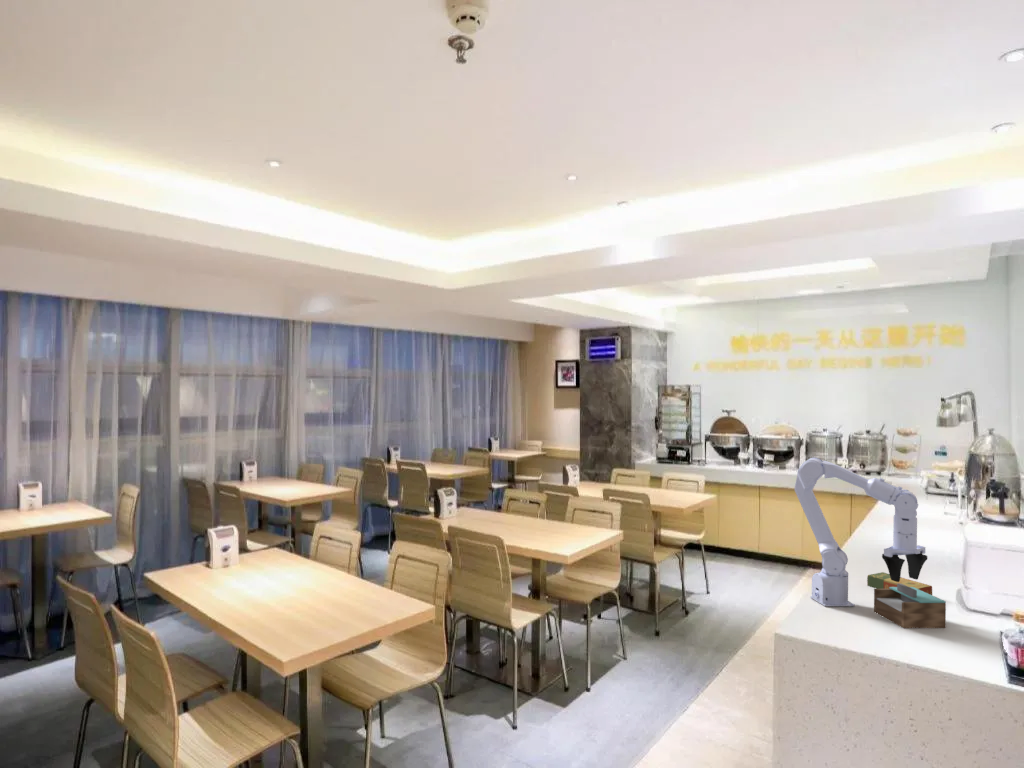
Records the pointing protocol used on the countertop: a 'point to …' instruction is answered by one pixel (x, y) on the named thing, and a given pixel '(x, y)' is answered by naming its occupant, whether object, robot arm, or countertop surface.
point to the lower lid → (896, 601)
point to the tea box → (910, 611)
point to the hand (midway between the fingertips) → (904, 579)
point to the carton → (894, 582)
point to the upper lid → (916, 594)
